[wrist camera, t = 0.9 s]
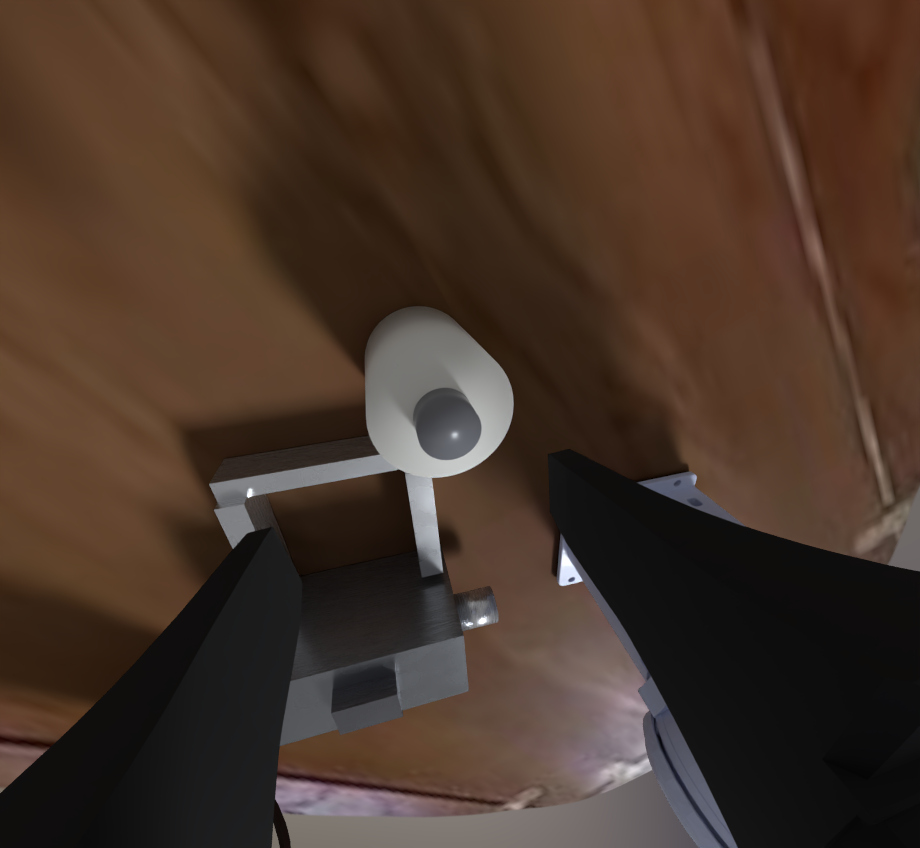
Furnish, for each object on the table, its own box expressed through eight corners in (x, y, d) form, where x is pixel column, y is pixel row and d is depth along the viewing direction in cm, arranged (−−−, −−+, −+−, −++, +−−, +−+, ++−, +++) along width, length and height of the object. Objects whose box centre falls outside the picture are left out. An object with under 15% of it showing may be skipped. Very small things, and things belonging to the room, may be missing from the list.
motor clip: (294, 635, 24) (272, 771, 18) (216, 460, 18) (141, 581, 12) (480, 589, 26) (516, 698, 20) (471, 418, 20) (520, 502, 14)
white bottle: (467, 300, 17) (529, 342, 11) (472, 400, 19) (525, 482, 13) (354, 312, 16) (350, 366, 10) (374, 415, 19) (381, 511, 12)
